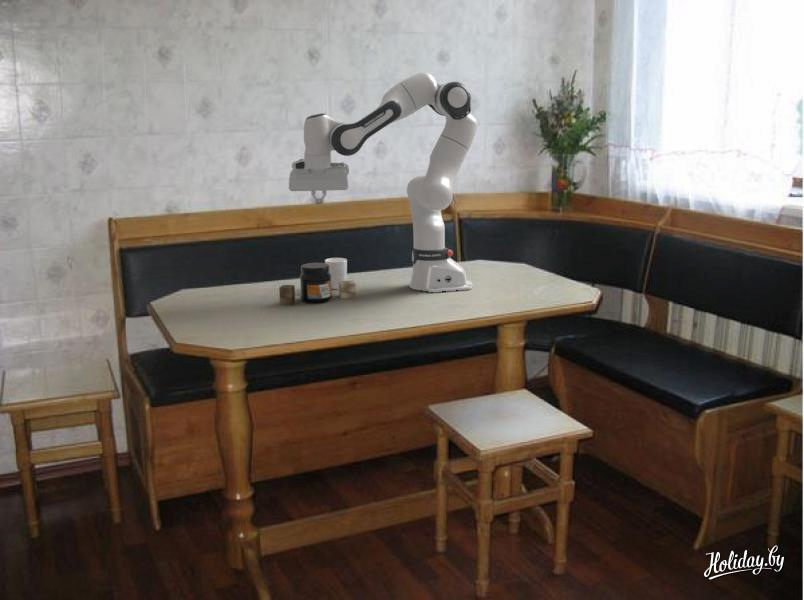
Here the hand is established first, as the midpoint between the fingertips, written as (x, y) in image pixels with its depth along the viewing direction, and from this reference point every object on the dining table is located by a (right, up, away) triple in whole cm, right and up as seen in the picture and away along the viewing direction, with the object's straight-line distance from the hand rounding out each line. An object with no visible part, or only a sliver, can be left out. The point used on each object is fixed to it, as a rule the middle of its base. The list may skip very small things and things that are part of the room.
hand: (319, 203), depth 291 cm
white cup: (+5, -28, +15) cm, 32 cm away
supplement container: (-1, -33, -3) cm, 33 cm away
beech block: (+9, -32, +2) cm, 33 cm away
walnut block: (-10, -34, -7) cm, 36 cm away
